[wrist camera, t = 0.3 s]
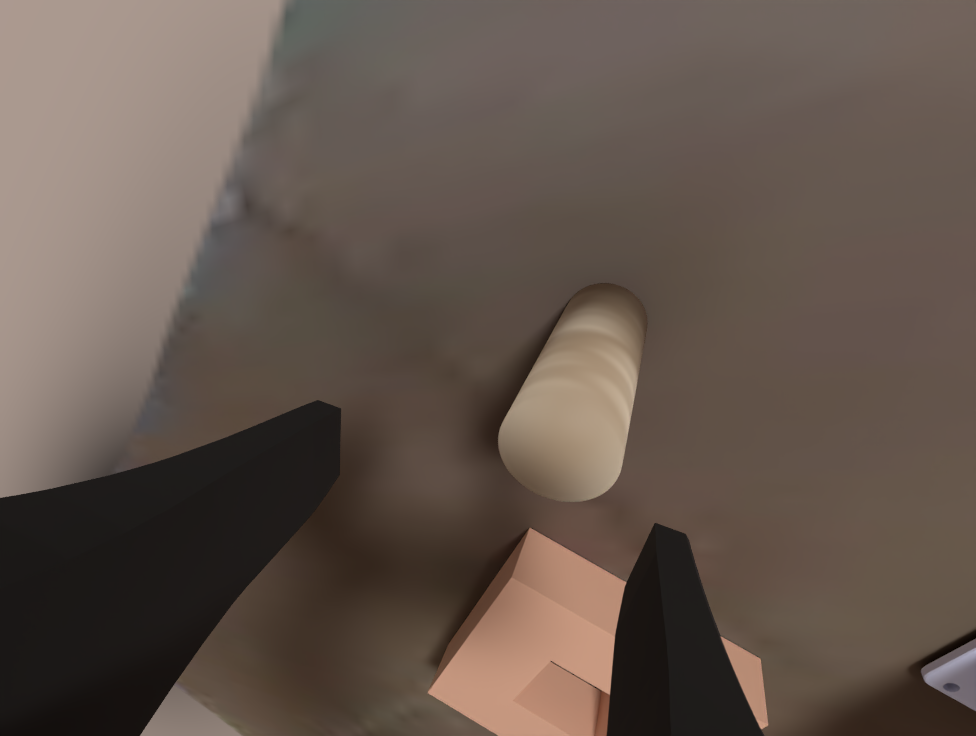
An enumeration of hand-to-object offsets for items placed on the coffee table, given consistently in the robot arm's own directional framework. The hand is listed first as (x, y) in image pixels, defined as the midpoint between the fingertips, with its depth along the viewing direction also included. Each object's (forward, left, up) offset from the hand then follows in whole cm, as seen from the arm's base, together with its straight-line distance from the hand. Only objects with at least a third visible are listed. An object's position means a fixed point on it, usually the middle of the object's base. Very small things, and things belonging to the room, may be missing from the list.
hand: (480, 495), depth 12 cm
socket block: (-9, +16, -10) cm, 21 cm away
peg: (-1, -1, -10) cm, 10 cm away
